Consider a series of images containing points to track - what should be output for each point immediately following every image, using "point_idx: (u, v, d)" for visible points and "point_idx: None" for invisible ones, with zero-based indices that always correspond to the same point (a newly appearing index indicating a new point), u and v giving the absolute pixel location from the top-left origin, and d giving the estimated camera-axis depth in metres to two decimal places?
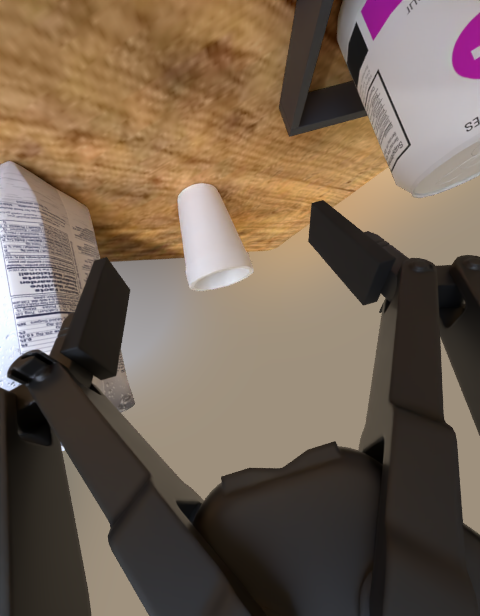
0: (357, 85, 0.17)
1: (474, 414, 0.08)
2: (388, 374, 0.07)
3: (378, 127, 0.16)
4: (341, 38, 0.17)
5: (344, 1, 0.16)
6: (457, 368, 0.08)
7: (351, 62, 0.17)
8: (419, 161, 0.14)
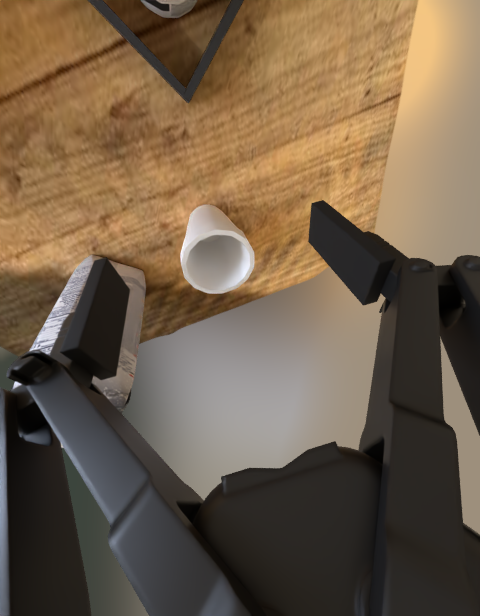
0: (158, 1, 0.19)
1: (474, 414, 0.08)
2: (388, 374, 0.07)
3: None
4: (154, 10, 0.21)
5: None
6: (457, 368, 0.08)
7: (152, 3, 0.20)
8: None
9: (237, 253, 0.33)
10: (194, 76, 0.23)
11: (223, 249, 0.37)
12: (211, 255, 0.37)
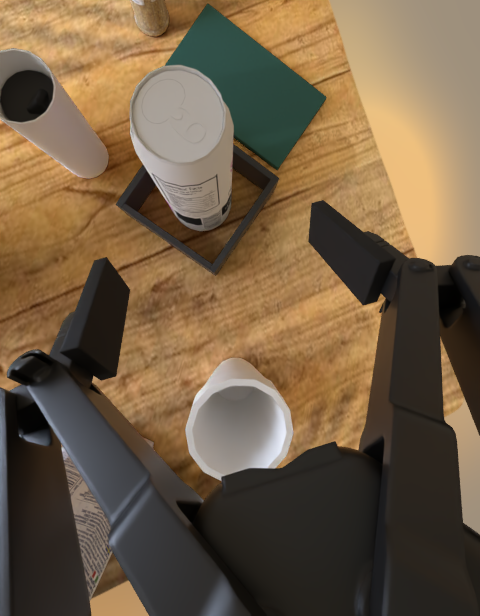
0: (192, 218, 0.26)
1: (474, 414, 0.08)
2: (388, 374, 0.07)
3: (181, 201, 0.22)
4: (193, 227, 0.30)
5: (183, 224, 0.30)
6: (457, 368, 0.08)
7: (190, 221, 0.27)
8: (150, 163, 0.17)
9: (269, 414, 0.24)
10: (219, 255, 0.28)
11: (253, 409, 0.28)
12: (237, 418, 0.28)
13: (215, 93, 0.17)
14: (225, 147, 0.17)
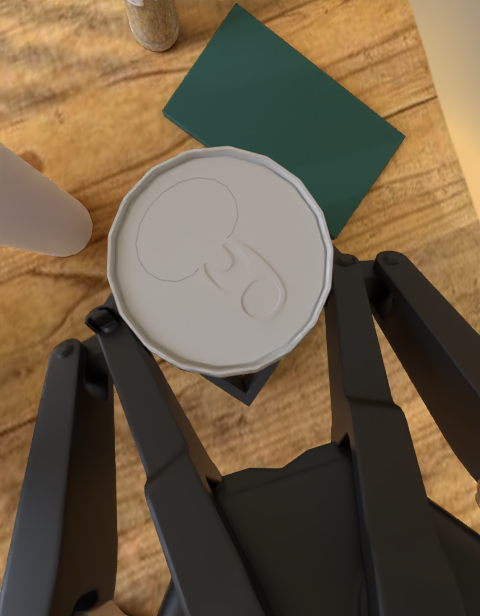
0: None
1: (423, 397, 0.08)
2: (340, 368, 0.07)
3: None
4: None
5: None
6: (400, 356, 0.09)
7: None
8: None
9: None
10: (257, 381, 0.19)
11: None
12: None
13: (307, 207, 0.07)
14: None
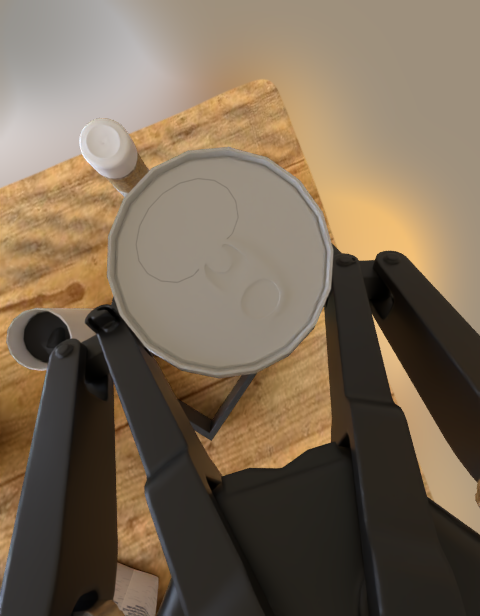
0: None
1: (423, 397, 0.08)
2: (340, 368, 0.07)
3: None
4: None
5: None
6: (400, 356, 0.09)
7: None
8: None
9: None
10: (216, 425, 0.31)
11: None
12: None
13: (307, 208, 0.07)
14: None
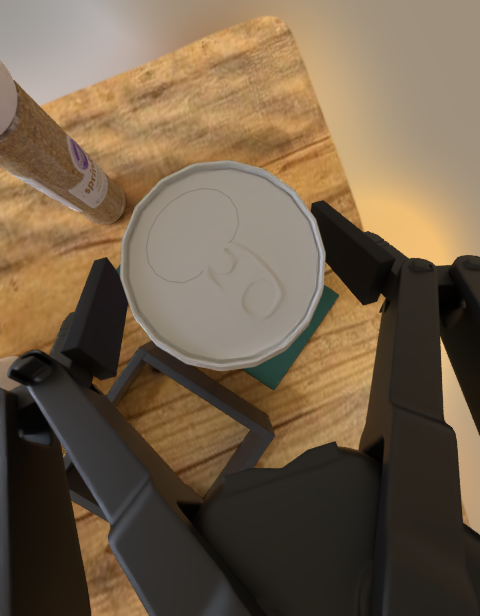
0: None
1: (474, 414, 0.08)
2: (388, 374, 0.07)
3: None
4: None
5: None
6: (457, 368, 0.08)
7: None
8: (164, 347, 0.08)
9: None
10: None
11: None
12: None
13: (302, 215, 0.08)
14: None
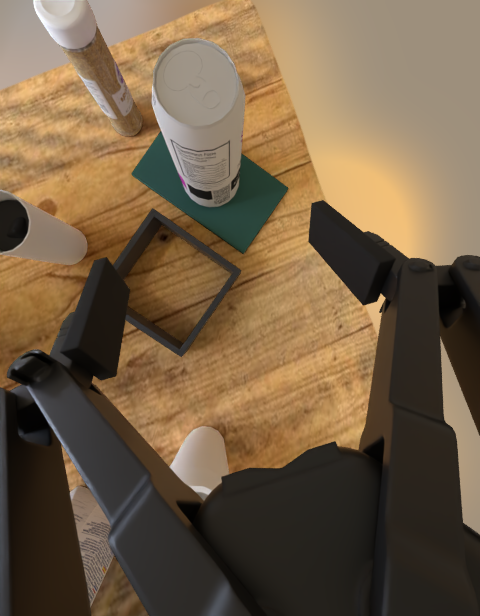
0: (204, 190, 0.28)
1: (474, 414, 0.08)
2: (388, 374, 0.07)
3: (195, 170, 0.23)
4: (203, 203, 0.31)
5: (194, 200, 0.32)
6: (457, 368, 0.08)
7: (201, 195, 0.29)
8: (170, 127, 0.19)
9: None
10: (186, 341, 0.31)
11: None
12: (201, 493, 0.30)
13: (229, 63, 0.18)
14: (238, 113, 0.19)
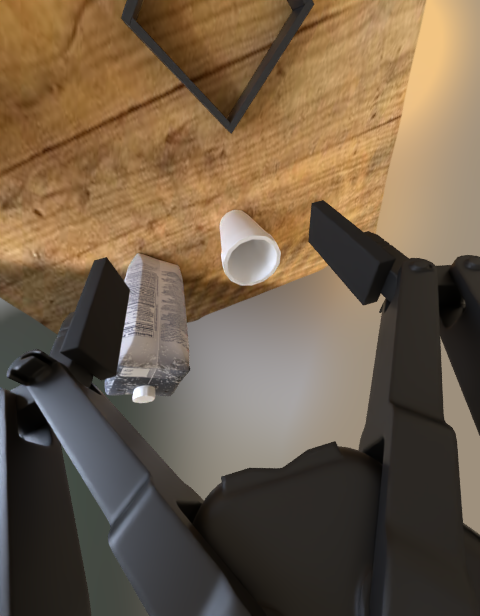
0: None
1: (474, 414, 0.08)
2: (388, 374, 0.07)
3: None
4: None
5: None
6: (457, 368, 0.08)
7: None
8: None
9: (263, 252, 0.40)
10: (237, 113, 0.30)
11: (249, 247, 0.44)
12: (239, 253, 0.43)
13: None
14: None
